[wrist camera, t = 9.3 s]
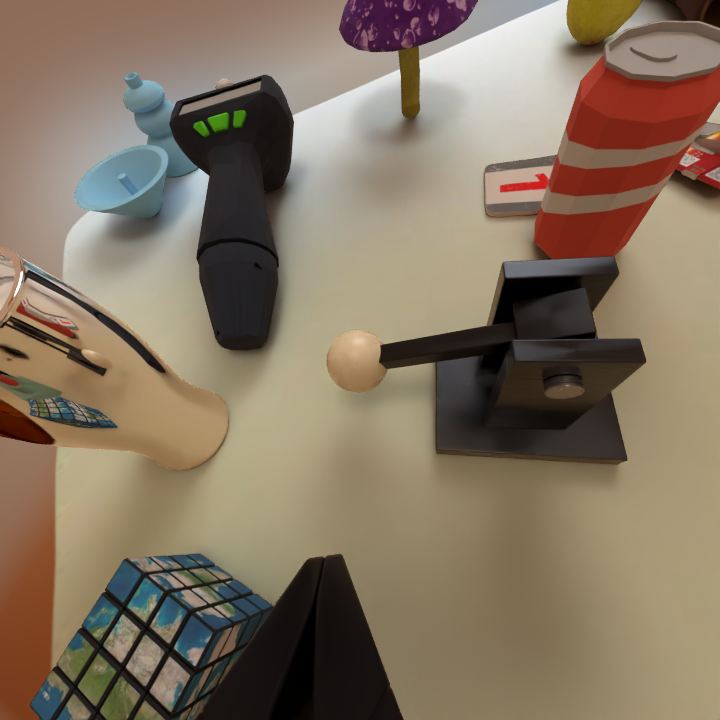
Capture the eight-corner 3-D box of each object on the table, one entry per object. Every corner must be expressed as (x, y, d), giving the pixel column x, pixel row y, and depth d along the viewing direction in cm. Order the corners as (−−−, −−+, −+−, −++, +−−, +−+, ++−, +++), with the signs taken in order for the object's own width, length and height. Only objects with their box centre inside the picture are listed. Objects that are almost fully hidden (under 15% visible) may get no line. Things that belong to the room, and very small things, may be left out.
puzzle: (199, 552, 21) (123, 556, 16) (275, 606, 19) (217, 632, 14) (135, 661, 19) (24, 707, 14) (213, 736, 17) (117, 823, 12)
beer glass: (224, 477, 23) (-43, 397, 10) (135, 478, 24) (-205, 408, 11) (242, 383, 26) (57, 231, 13) (163, 388, 28) (-78, 253, 15)
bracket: (435, 453, 21) (437, 396, 13) (436, 343, 25) (437, 240, 16) (617, 464, 19) (764, 405, 11) (589, 341, 23) (682, 224, 14)
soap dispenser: (168, 244, 36) (97, 163, 28) (92, 243, 39) (6, 167, 31) (229, 141, 44) (186, 54, 36) (161, 145, 46) (107, 64, 39)
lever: (343, 403, 21) (309, 381, 19) (350, 352, 23) (319, 325, 20) (597, 379, 15) (602, 340, 12) (581, 311, 17) (582, 263, 14)
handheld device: (308, 141, 39) (272, 40, 29) (333, 354, 32) (296, 313, 22) (219, 165, 40) (156, 77, 31) (224, 374, 33) (144, 344, 24)
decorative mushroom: (361, 162, 37) (321, -47, 24) (354, 102, 43) (319, -91, 30) (480, 135, 35) (509, -106, 22) (456, 76, 41) (466, -141, 28)
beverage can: (582, 201, 28) (669, 3, 18) (641, 250, 25) (790, 44, 15) (515, 231, 28) (564, 48, 18) (566, 284, 25) (662, 99, 14)
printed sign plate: (483, 160, 32) (604, 146, 30) (482, 165, 33) (602, 151, 30) (486, 215, 29) (621, 205, 27) (485, 219, 30) (618, 210, 27)
